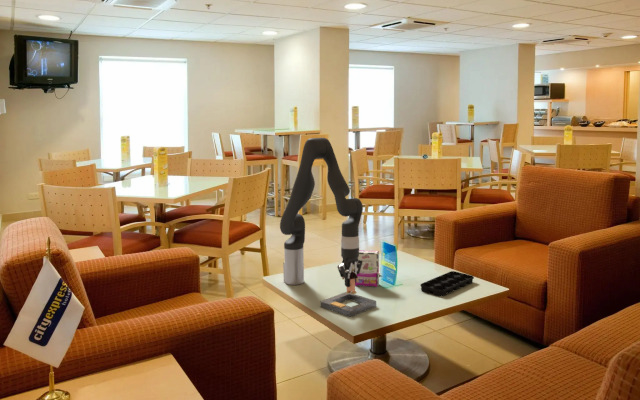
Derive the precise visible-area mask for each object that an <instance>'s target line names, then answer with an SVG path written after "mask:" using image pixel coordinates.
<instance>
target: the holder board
mask: <svg viewBox="0 0 640 400" xmlns="http://www.w3.org/2000/svg"><path fill="white" fill-rule="evenodd" d="M346 292H347V291H345V292H342V293H339V294H337V295H334V296H333V295H332V296H331V297H327V298H326V299H323V300H320V301H319V303H320V304H319V305H320V306H319V307H320V308H323V309H325V310H328V311H330V312H334V313H336V314H340V315H342V316H344V317H348V318H353V317H354V316H357V315H359V314H361V313H364V312H366V311H367V312H368V311H369V310H372V309H374V308H376V307H377V300H374V299H372V298H368V297H365V296H361V295H359V294H357V293H356V294H351V293H346ZM347 301H352V302H355V303H357V304H355V305H353V306H349V305H347V304H344V302H347Z"/></svg>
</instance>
